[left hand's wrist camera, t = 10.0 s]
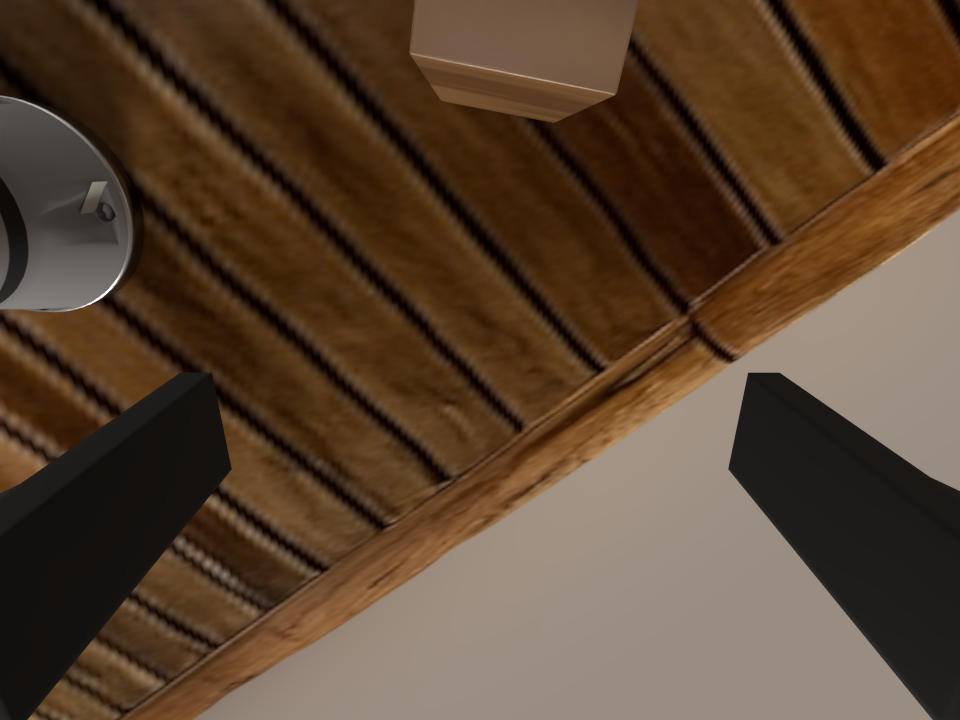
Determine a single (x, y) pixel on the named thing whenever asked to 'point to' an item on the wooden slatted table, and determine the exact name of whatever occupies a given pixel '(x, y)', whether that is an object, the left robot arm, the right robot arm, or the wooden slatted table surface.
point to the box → (523, 52)
